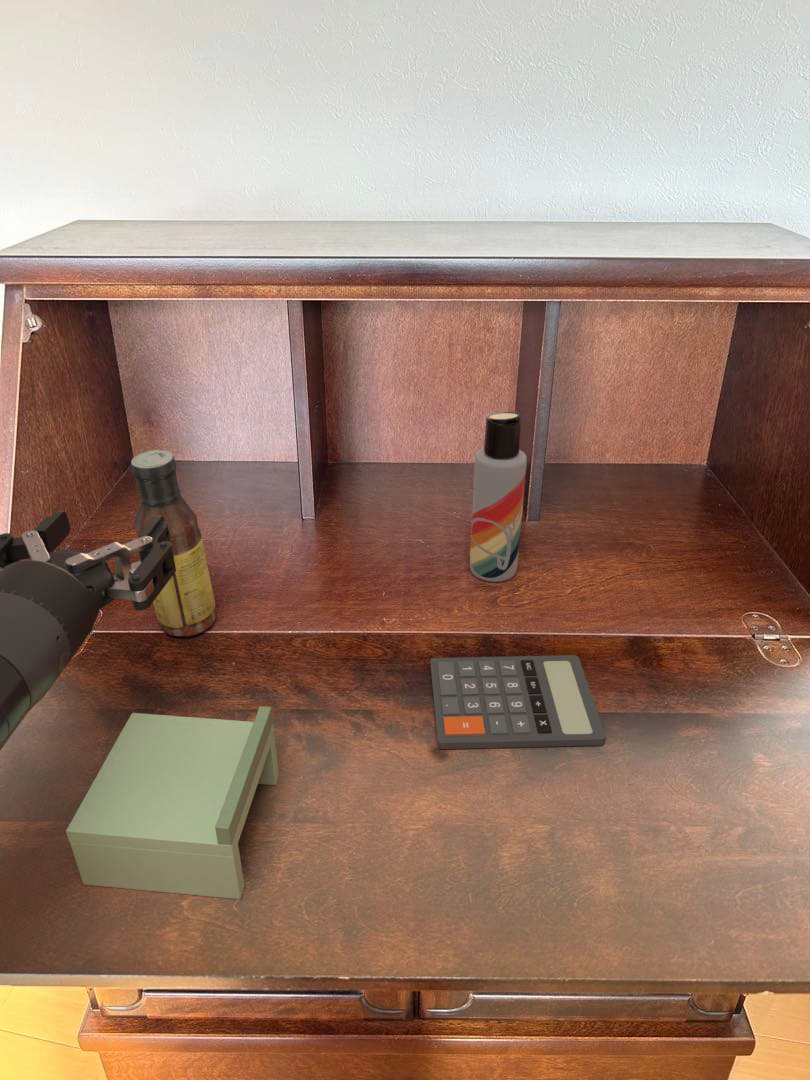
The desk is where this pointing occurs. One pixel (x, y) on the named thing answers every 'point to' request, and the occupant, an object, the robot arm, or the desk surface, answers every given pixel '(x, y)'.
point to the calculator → (513, 702)
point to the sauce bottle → (175, 547)
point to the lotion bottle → (498, 499)
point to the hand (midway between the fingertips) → (112, 522)
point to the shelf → (174, 804)
